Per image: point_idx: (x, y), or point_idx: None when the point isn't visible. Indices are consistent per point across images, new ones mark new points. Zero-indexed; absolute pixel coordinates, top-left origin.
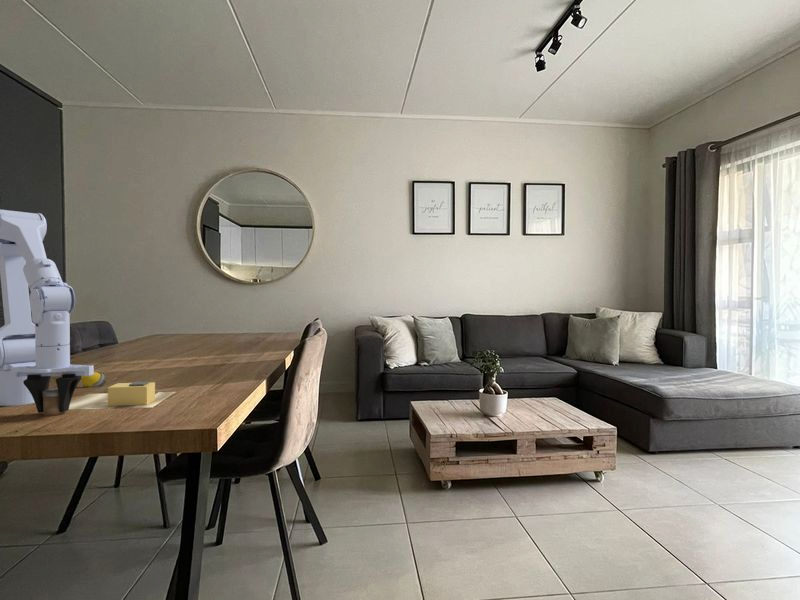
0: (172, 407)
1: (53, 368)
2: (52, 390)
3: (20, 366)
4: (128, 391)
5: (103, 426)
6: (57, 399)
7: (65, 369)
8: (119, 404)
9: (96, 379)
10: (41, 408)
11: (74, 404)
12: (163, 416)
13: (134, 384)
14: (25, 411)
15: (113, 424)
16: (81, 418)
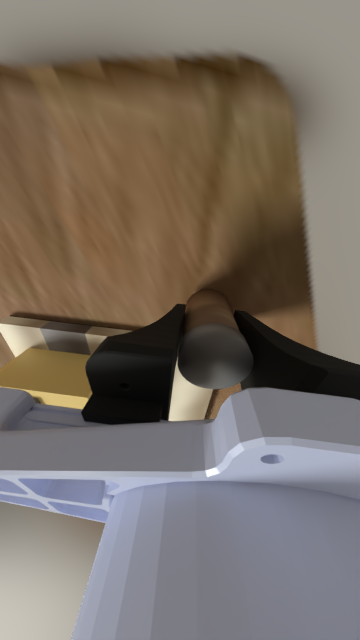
0: (5, 349)
1: (186, 479)
2: (215, 359)
3: None
4: (41, 379)
5: (25, 190)
6: (190, 324)
7: (77, 449)
8: (85, 356)
9: None
10: (238, 316)
11: (191, 383)
12: None
13: None
14: None
15: (14, 212)
16: (143, 303)
